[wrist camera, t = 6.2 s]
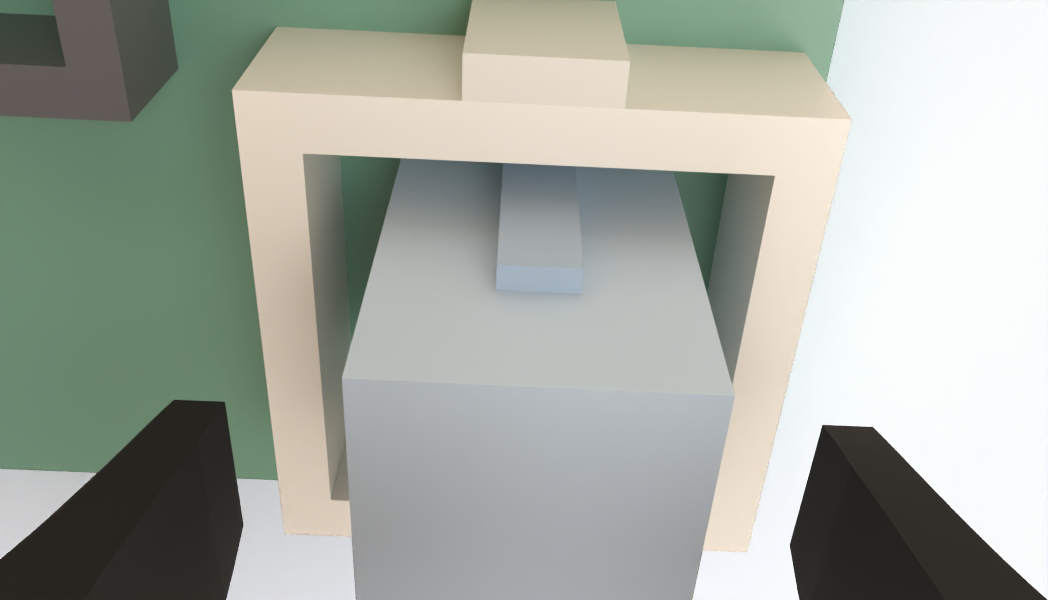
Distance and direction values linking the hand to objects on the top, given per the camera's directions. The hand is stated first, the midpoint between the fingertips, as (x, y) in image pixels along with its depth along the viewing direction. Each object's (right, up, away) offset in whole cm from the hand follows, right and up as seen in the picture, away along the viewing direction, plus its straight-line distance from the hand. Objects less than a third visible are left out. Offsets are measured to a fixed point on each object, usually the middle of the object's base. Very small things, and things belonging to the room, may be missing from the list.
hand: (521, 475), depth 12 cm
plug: (0, +3, +4) cm, 5 cm away
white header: (0, +3, +4) cm, 5 cm away
